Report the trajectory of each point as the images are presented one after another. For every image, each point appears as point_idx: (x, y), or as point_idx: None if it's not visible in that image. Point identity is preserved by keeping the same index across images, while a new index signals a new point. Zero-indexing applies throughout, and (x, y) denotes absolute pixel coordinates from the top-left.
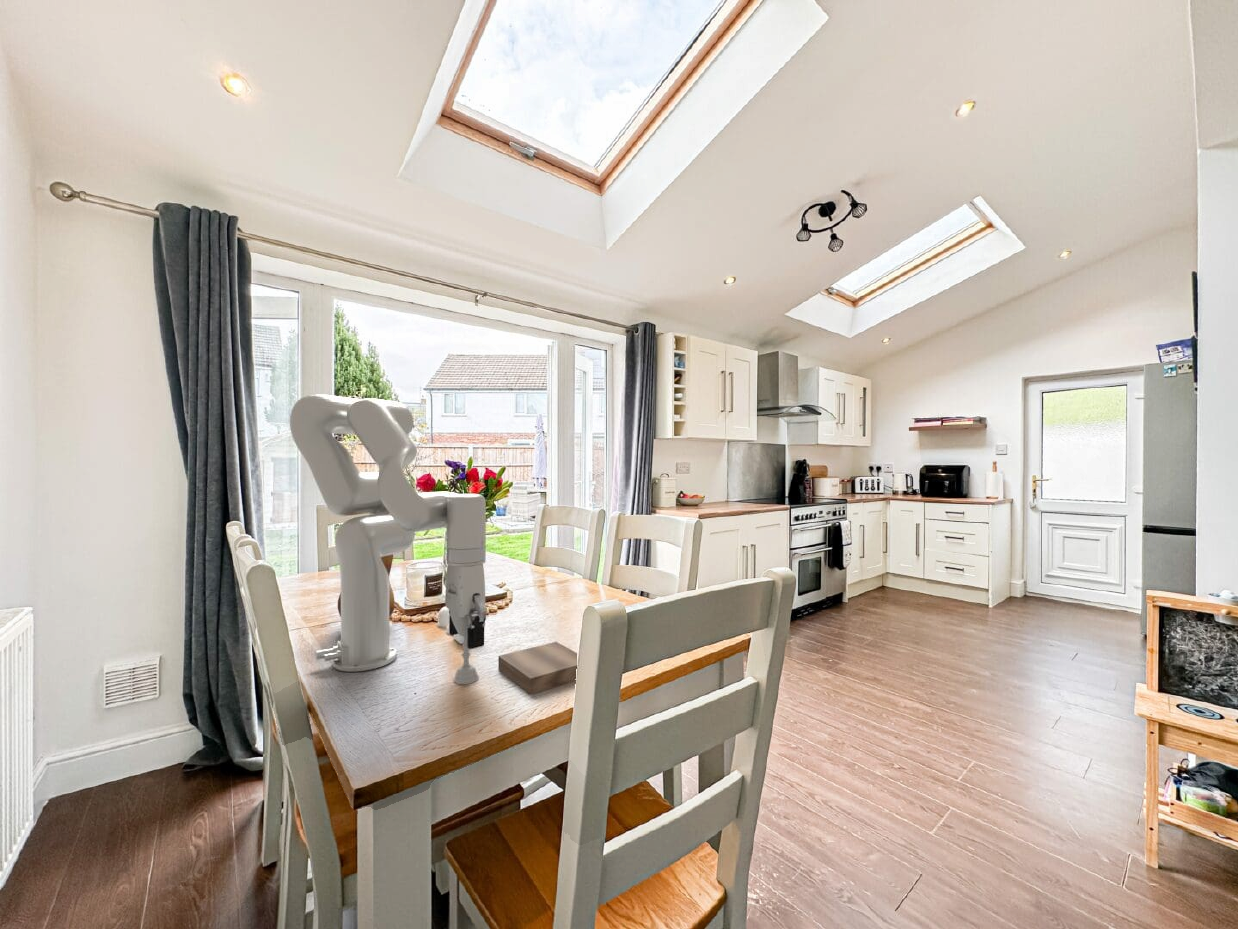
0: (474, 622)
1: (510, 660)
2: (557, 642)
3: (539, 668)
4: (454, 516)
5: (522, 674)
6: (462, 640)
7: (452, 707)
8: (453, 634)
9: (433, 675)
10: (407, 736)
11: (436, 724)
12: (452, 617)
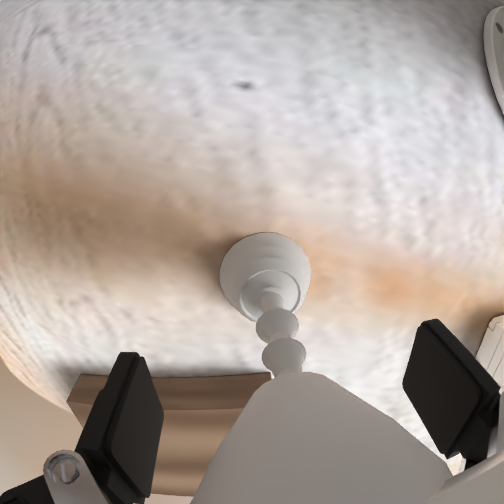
0: (49, 496)
1: (213, 418)
2: None
3: None
4: None
5: None
6: (494, 328)
7: (72, 180)
8: (416, 335)
9: (365, 186)
10: (5, 59)
11: (13, 125)
12: (305, 476)
